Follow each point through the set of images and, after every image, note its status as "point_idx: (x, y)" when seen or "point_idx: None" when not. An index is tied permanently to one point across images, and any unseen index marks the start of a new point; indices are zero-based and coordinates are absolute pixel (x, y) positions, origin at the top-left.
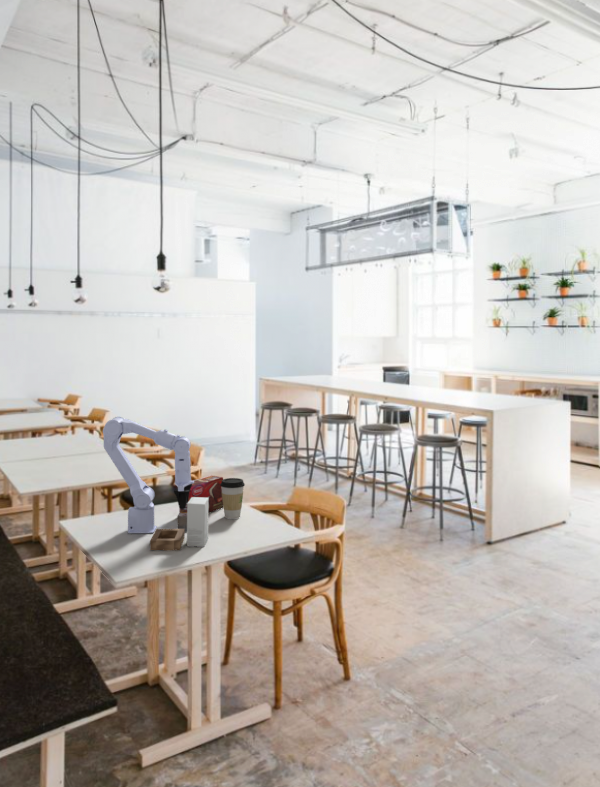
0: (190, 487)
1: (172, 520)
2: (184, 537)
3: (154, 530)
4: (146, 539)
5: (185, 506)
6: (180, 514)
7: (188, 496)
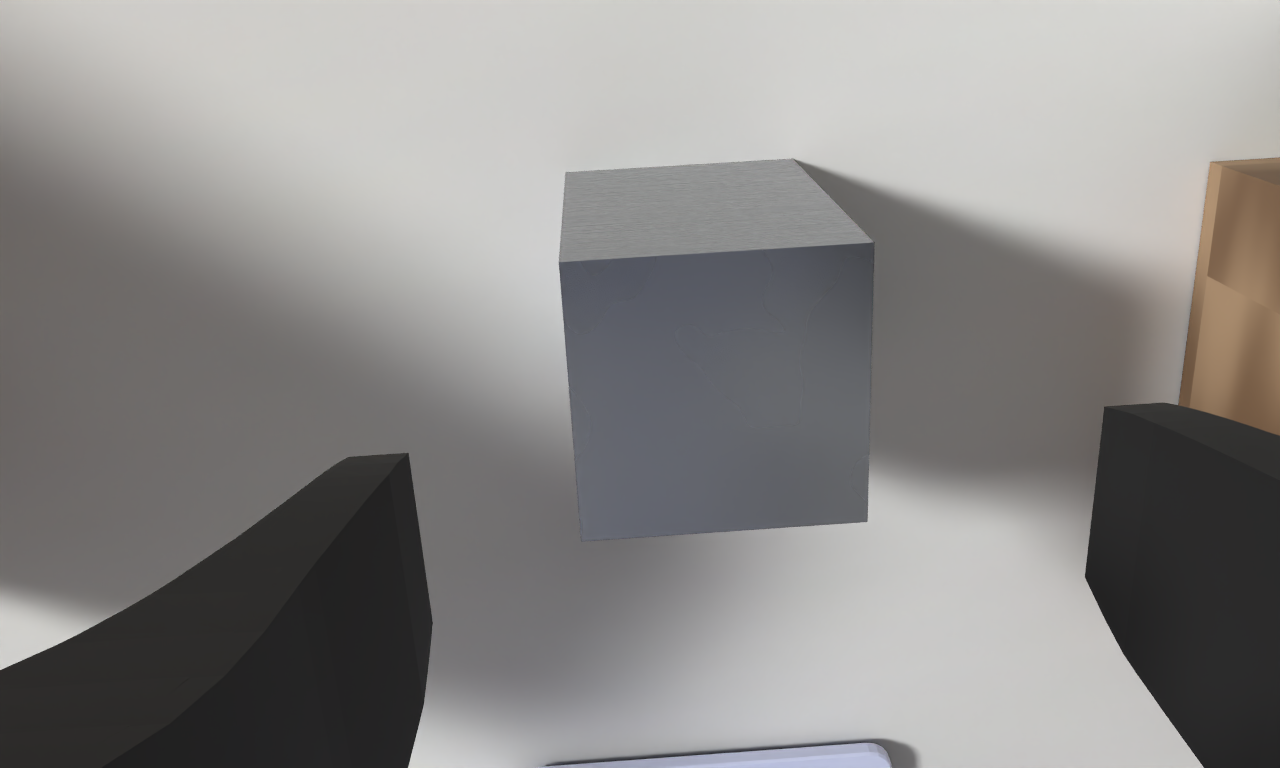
0: (154, 764)
1: (58, 603)
2: (1227, 164)
3: (797, 757)
4: (1175, 762)
5: (1210, 415)
6: (701, 478)
7: (341, 542)
